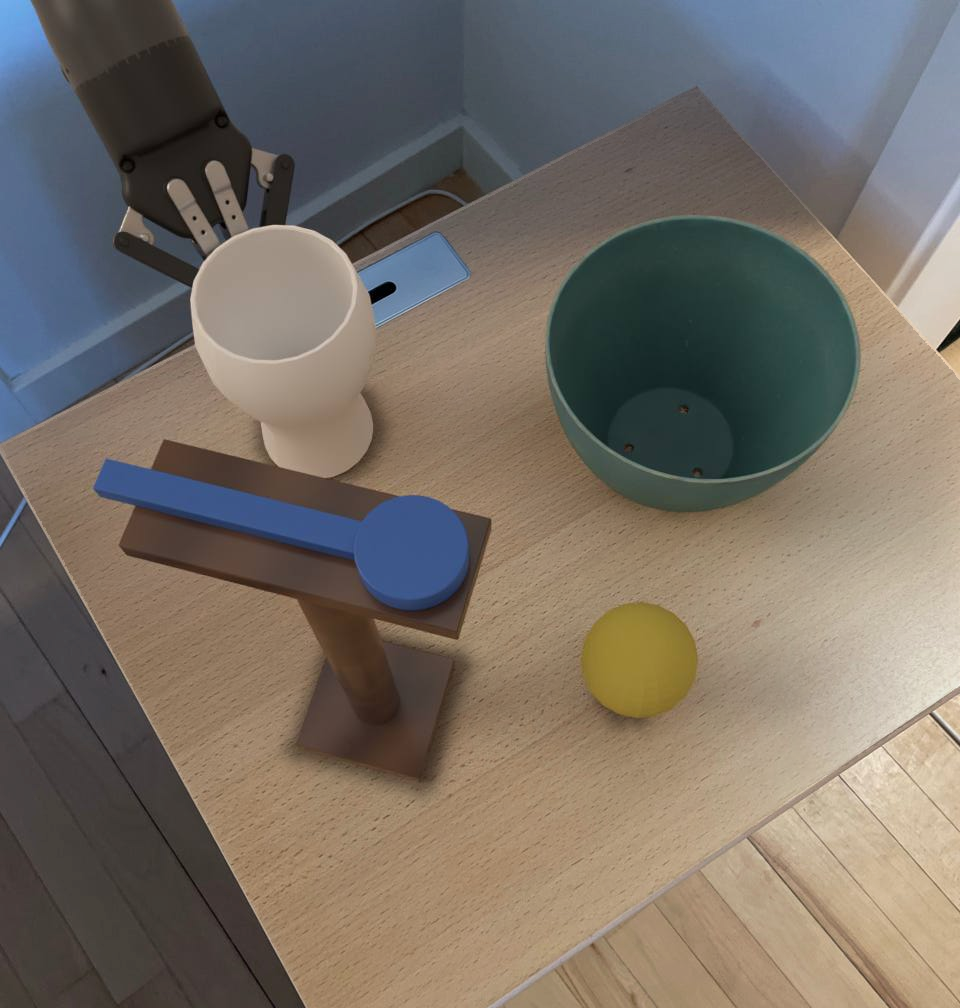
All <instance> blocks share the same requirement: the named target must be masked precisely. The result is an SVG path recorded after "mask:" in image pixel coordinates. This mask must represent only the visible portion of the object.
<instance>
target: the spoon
mask: <svg viewBox="0 0 960 1008" xmlns="http://www.w3.org/2000/svg"><path fill="white" fill-rule="evenodd" d="M92 489H93V490H94V492H95V493H96V494H97V495H98V497H100V498H103V499H107V500H111V501H115V502H119V503H122V504H128V505H131V506H134V507H135V506H138V507H142V508H146V509H150V510H154V511H158V512H162V513H166V514H170V515H174V516H178V517H182V518H186V519H190V520H194V521H198V522H202V523H206V524H210V525H214V526H218V527H222V528H226V529H230V530H234V531H238V532H242V533H246V534H250V535H254V536H258V537H262V538H266V539H270V540H274V541H278V542H282V543H286V544H290V545H294V546H298V547H302V548H306V549H310V550H314V551H318V552H322V553H326V554H330V555H334V556H338V557H342V558H346V559H350V560H354V561H355V563H356V566H357V569H358V572H359V575H360V578H361V580H362V582H363V584H364V585H365V587H366V588H367V590H368V591H369V592H370V593H371V594H372V595H373V596H374V597H375V598H376V599H377V600H379V601H381V602H382V603H384V604H386V605H388V606H390V607H393V608H396V609H401V610H422V609H427V608H430V607H434V606H436V605H438V604H440V603H442V602H443V601H445V600H447V599H448V598H449V597H450V596H452V595H453V594H454V593H455V592H456V591H457V590H458V588H459V587H460V586H461V584H462V582H463V581H464V579H465V576H466V574H467V571H468V567H469V558H470V557H469V541H468V536H467V532H466V529H465V527H464V525H463V523H462V521H461V519H460V518H459V517H458V515H457V514H456V513H455V512H454V511H453V510H452V509H453V508H452V507H451V508H450V507H449V505H447V504H445V503H443V502H442V501H440V500H437V499H436V498H432V497H429V496H425V495H419V494H407V495H399V496H400V497H396V498H392V499H390V500H387V501H385V502H383V503H382V504H380V505H378V506H377V507H376V508H374V509H373V510H372V511H371V512H370V513H369V514H368V515H367V516H366V517H365V519H364V520H363V521H359V520H354V519H350V518H346V517H342V516H338V515H334V514H330V513H326V512H322V511H318V510H314V509H310V508H306V507H302V506H298V505H294V504H289V503H285V502H281V501H277V500H273V499H269V498H265V497H261V496H257V495H253V494H249V493H245V492H241V491H237V490H233V489H229V488H224V487H220V486H216V485H212V484H208V483H204V482H200V481H196V480H192V479H188V478H184V477H180V476H176V475H172V474H168V473H164V472H159V471H155V470H151V468H148V467H143V466H139V465H135V464H130V463H127V462H124V461H123V462H122V461H119V460H115V459H111V458H105V460H104V462H103V464H102V466H101V469H100V471H99V473H98V474H97V478H96V480H95V482H94V484H93V487H92Z"/></svg>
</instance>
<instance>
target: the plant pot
mask: <svg viewBox="0 0 960 1008" xmlns="http://www.w3.org/2000/svg"><path fill="white" fill-rule="evenodd" d="M545 326H546V327H545V336H544V346H545V347H544V356H545V359H544V360H545V368H546V376H547V383H548V386H549V391H550V396H551V399H552V403H553V406H554V409H555V412H556V415H557V418H558V421H559V422H560V425H561V428H562V430H563V432H564V435H566V437H567V439H568V441H569V443H570V445H571V446H572V448H573V450H574V451H575V452H576V454H577V455H578V456H579V459H580V460H582V462H583V464H584V465H585V466H586V467H587V468H588V469H589V470H590V471H591V473H592V474H593V475H595V476H596V477H597V479H599V480H600V481H601V482H602V483H603V484H604V485H606V486H607V487H609V488H610V489H612V490H613V491H614V492H615V493H617V494H619V495H620V496H621V497H624V498H626V499H628V501H629V500H630V501H631V502H634V503H636V504H638V505H641V506H644V507H647V508H651V509H654V510H658V511H664V512H669V513H670V512H671V513H681V514H682V513H686V514H688V513H689V514H691V513H703V512H704V513H705V512H711V511H716V510H721V509H724V508H728V507H731V506H734V505H737V504H741V503H742V502H746V501H748V500H750V499H752V498H755V497H756V496H758V495H760V494H763V493H764V492H766V491H768V490H769V489H772V488H773V487H775V486H776V485H778V484H780V483H781V482H782V481H784V480H785V479H787V478H788V477H789V476H790V475H792V474H793V473H795V472H796V471H797V470H798V469H799V468H800V467H801V466H803V465H804V464H805V463H806V462H807V461H808V460H810V458H811V457H812V456H813V455H815V454H816V452H817V451H818V450H819V449H820V448H821V447H822V446H823V445H824V444H825V443H826V441H827V440H828V439H829V438H830V436H831V435H832V434H833V432H834V431H835V430H836V429H837V427H838V425H839V424H840V422H841V421H842V419H844V416H845V415H846V413H847V411H848V409H849V407H850V405H851V403H852V401H853V398H854V395H855V393H856V391H857V390H856V389H857V386H858V383H859V378H860V372H861V361H862V355H861V352H862V351H861V342H860V335H859V332H858V326H857V323H856V320H855V317H854V314H853V311H852V309H851V307H850V304H849V303H848V301H847V298H846V296H845V295H844V293H843V292H842V289H840V286H838V283H836V281H835V280H834V278H833V277H832V276H831V275H830V273H828V272H827V270H826V269H825V268H824V267H823V266H822V265H821V264H820V263H819V262H818V261H817V260H816V259H815V258H814V257H812V256H811V255H810V254H809V253H808V252H806V251H805V250H804V249H802V248H801V247H799V246H798V245H797V244H795V243H794V242H792V241H791V240H789V239H787V238H785V237H783V236H781V235H779V234H777V233H775V231H774V232H773V231H771V230H769V229H768V228H765V227H762V226H759V225H758V224H753V223H750V222H748V221H744V220H740V219H736V218H731V217H724V216H717V215H708V214H705V215H704V214H683V215H681V214H680V215H671V216H665V217H660V218H654V219H650V220H647V221H643V222H640V223H637V224H634V225H631V226H629V227H625V228H624V229H621V230H620V231H617V232H616V233H613V234H611V235H610V236H609V237H607V238H604V239H603V240H602V241H600V242H599V243H598V244H596V245H595V246H594V247H593V248H592V247H591V249H590V250H589V251H588V252H586V253H585V254H584V255H583V256H582V257H581V258H580V259H579V260H578V261H577V262H576V263H575V264H574V265H573V267H572V268H571V269H570V271H568V273H567V274H566V276H565V277H564V279H563V280H562V281H561V283H560V285H559V287H558V289H557V290H556V293H555V295H554V297H553V299H552V302H551V304H550V308H549V311H548V315H547V320H546V325H545ZM681 408H686V409H687V411H686V412H682V411H681V410H680V409H681ZM626 446H630V447H632V450H631V451H629V452H628V451H626V450H625V448H626ZM695 471H699V472H700V473H701V475H700V476H696V475H695V474H694V472H695Z"/></svg>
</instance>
